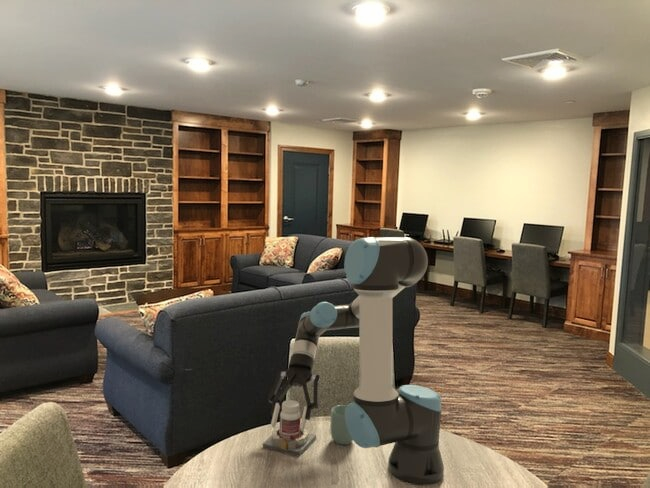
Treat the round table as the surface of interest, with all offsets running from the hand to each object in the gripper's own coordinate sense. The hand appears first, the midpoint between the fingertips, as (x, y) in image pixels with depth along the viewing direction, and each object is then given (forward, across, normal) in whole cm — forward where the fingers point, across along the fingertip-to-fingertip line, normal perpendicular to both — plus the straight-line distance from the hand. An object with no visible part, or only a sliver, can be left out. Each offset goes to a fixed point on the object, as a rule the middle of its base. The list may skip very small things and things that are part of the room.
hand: (287, 427), depth 159 cm
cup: (-2, -15, -11) cm, 19 cm away
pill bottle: (+2, 0, -6) cm, 6 cm away
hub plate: (+2, 0, -7) cm, 7 cm away
